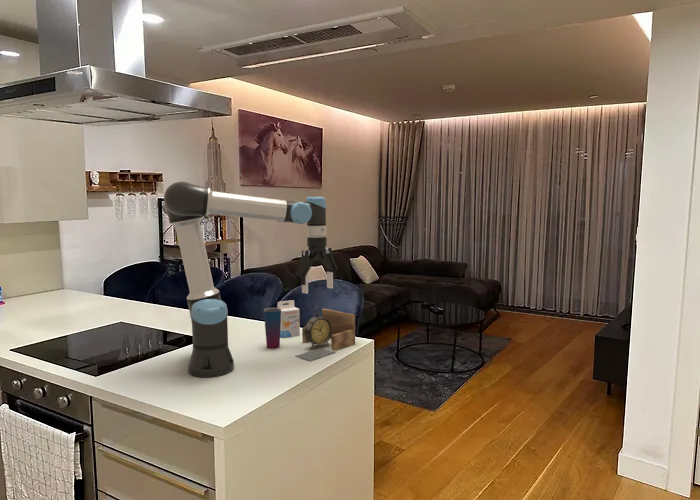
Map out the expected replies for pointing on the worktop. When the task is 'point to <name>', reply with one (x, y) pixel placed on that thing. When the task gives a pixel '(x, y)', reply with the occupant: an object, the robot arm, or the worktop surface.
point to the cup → (272, 327)
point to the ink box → (289, 319)
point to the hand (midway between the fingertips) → (317, 290)
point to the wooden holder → (338, 328)
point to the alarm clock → (318, 330)
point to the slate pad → (315, 354)
